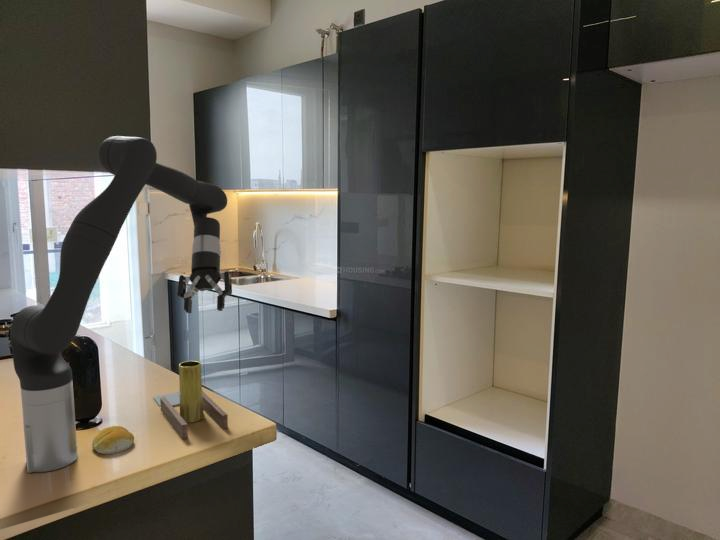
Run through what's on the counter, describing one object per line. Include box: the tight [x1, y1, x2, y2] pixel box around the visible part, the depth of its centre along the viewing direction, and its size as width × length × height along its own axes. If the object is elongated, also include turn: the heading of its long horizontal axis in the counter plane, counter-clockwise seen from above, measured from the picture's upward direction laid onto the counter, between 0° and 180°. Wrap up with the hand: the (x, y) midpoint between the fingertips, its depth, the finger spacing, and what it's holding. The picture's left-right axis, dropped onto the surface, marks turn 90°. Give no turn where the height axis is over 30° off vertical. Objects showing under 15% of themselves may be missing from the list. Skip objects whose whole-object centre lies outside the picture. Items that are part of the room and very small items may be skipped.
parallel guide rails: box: [160, 390, 229, 440], centre depth 131 cm, size 11×20×4 cm, turn 35°
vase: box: [178, 360, 205, 424], centre depth 131 cm, size 6×6×14 cm
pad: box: [152, 391, 180, 408], centre depth 143 cm, size 10×9×1 cm
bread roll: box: [91, 425, 135, 455], centre depth 117 cm, size 8×9×4 cm
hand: (204, 311), depth 138 cm, fingers open, 8 cm apart
